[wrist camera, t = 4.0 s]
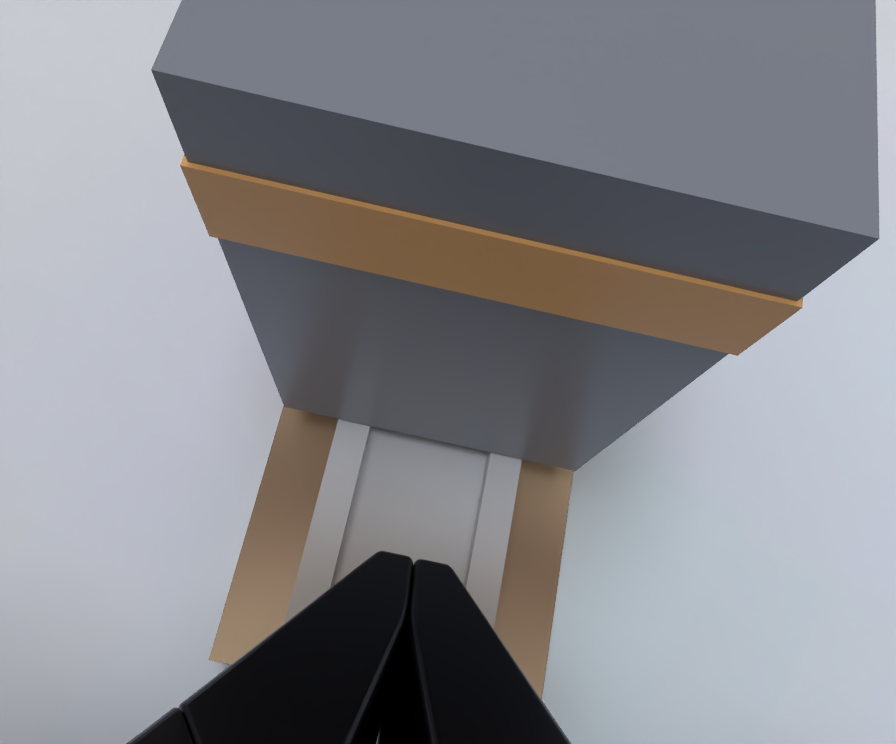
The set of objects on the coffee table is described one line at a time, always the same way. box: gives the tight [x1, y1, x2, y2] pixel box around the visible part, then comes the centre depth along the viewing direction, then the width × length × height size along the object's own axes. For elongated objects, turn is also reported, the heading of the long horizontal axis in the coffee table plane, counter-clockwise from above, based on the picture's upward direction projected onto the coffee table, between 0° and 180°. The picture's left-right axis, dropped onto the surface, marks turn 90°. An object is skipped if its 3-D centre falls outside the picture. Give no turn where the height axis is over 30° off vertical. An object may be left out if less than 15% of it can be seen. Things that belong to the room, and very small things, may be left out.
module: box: [151, 0, 879, 471], centre depth 10 cm, size 5×6×8 cm
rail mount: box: [209, 406, 573, 700], centre depth 14 cm, size 18×6×6 cm, turn 169°
